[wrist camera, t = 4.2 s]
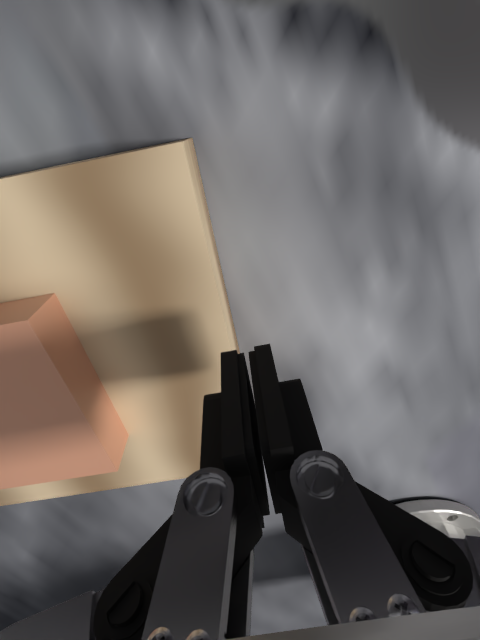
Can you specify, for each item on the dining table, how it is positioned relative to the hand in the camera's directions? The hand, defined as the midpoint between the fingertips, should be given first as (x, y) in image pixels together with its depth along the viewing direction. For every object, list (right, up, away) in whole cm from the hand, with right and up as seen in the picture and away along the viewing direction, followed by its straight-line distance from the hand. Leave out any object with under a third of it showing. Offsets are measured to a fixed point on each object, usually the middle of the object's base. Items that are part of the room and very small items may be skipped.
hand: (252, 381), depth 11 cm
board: (-10, +1, +6) cm, 12 cm away
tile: (-11, -1, +3) cm, 11 cm away
